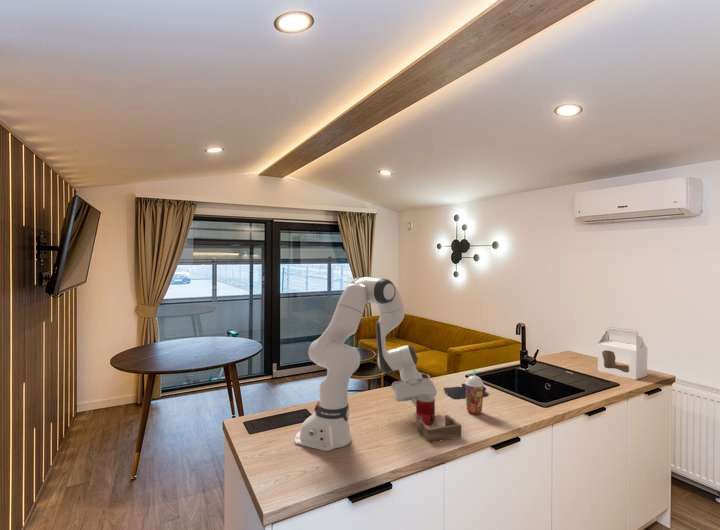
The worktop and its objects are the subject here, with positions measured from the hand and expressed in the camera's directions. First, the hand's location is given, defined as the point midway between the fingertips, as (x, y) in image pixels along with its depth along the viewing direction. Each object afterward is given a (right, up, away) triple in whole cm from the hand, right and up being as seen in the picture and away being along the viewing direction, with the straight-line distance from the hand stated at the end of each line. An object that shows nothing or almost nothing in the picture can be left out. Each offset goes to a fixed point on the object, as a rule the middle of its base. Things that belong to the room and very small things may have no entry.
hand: (420, 408), depth 173 cm
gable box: (+135, -3, +64) cm, 149 cm away
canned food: (+2, -5, -5) cm, 7 cm away
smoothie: (+26, -4, +5) cm, 27 cm away
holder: (+5, -5, -15) cm, 17 cm away
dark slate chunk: (+29, -4, +31) cm, 43 cm away
